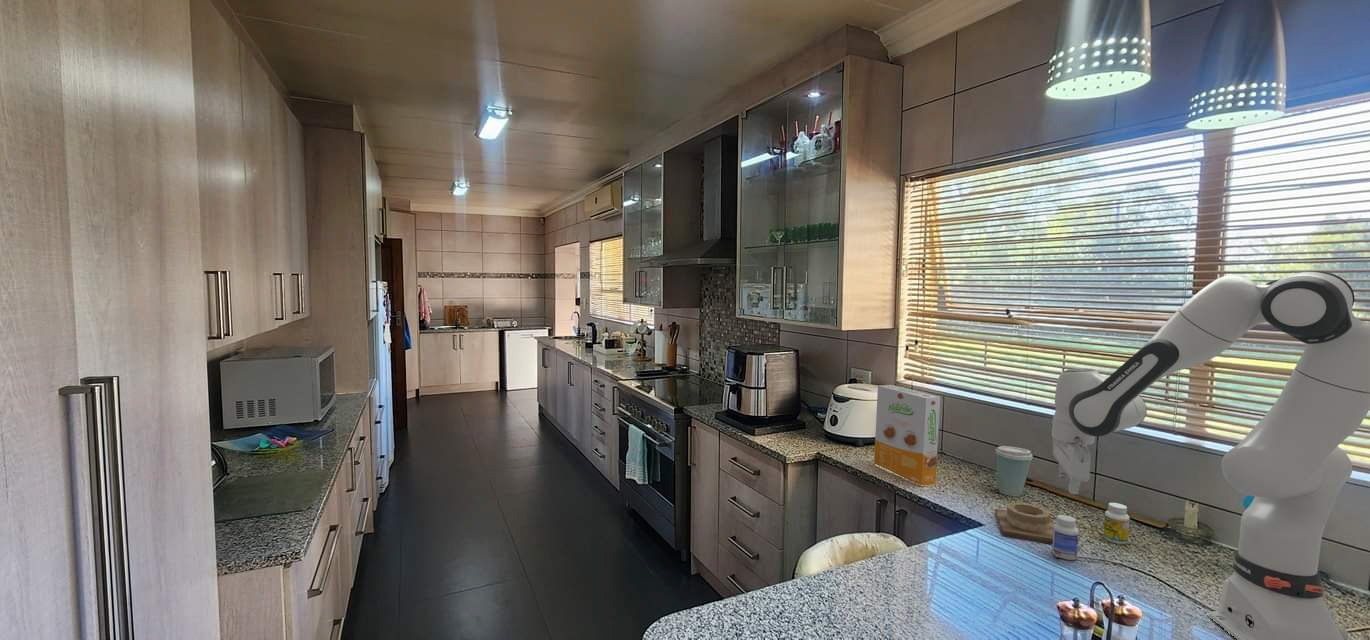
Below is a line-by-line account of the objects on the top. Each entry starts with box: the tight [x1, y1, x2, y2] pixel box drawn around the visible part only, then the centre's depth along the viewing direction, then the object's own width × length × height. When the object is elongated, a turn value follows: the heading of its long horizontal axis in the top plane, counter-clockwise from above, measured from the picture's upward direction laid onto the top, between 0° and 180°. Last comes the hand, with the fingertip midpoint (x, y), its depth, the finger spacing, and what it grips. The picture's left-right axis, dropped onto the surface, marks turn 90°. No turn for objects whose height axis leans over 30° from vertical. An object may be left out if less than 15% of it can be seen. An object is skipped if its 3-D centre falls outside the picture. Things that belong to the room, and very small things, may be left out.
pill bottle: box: [1051, 514, 1080, 561], centre depth 145 cm, size 5×5×10 cm
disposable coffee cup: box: [994, 445, 1034, 498], centre depth 187 cm, size 11×11×15 cm
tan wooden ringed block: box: [994, 502, 1055, 545], centre depth 160 cm, size 16×14×6 cm
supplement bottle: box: [1102, 502, 1131, 545], centre depth 154 cm, size 5×5×10 cm
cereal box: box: [873, 384, 941, 485], centre depth 201 cm, size 22×6×30 cm, turn 24°
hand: (1068, 486), depth 144 cm, fingers open, 8 cm apart
